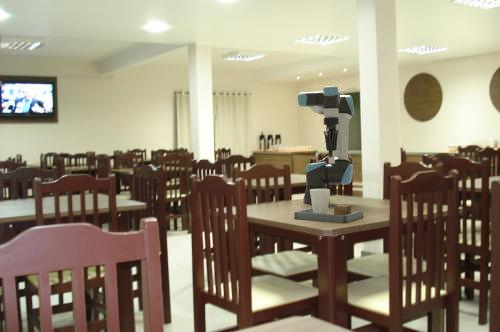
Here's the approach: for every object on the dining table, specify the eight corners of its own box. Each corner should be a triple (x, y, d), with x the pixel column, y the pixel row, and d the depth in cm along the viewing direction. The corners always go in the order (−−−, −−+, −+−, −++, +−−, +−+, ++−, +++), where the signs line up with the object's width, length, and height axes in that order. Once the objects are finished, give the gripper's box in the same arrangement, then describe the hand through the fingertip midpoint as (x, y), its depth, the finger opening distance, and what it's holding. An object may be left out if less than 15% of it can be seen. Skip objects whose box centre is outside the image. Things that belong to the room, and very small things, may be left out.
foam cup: (313, 218, 253) (313, 191, 252) (307, 215, 262) (307, 189, 261) (333, 217, 255) (332, 190, 254) (326, 214, 264) (326, 188, 263)
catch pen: (314, 213, 270) (314, 207, 270) (363, 217, 255) (363, 210, 255) (294, 218, 255) (294, 212, 254) (345, 222, 239) (345, 216, 239)
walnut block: (339, 216, 257) (339, 204, 257) (351, 217, 254) (351, 205, 254) (334, 218, 253) (334, 205, 252) (345, 219, 249) (345, 206, 249)
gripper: (329, 117, 281) (330, 162, 283) (318, 117, 270) (319, 164, 272) (343, 116, 277) (343, 162, 279) (332, 117, 266) (333, 164, 268)
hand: (331, 163), depth 276 cm, fingers closed
